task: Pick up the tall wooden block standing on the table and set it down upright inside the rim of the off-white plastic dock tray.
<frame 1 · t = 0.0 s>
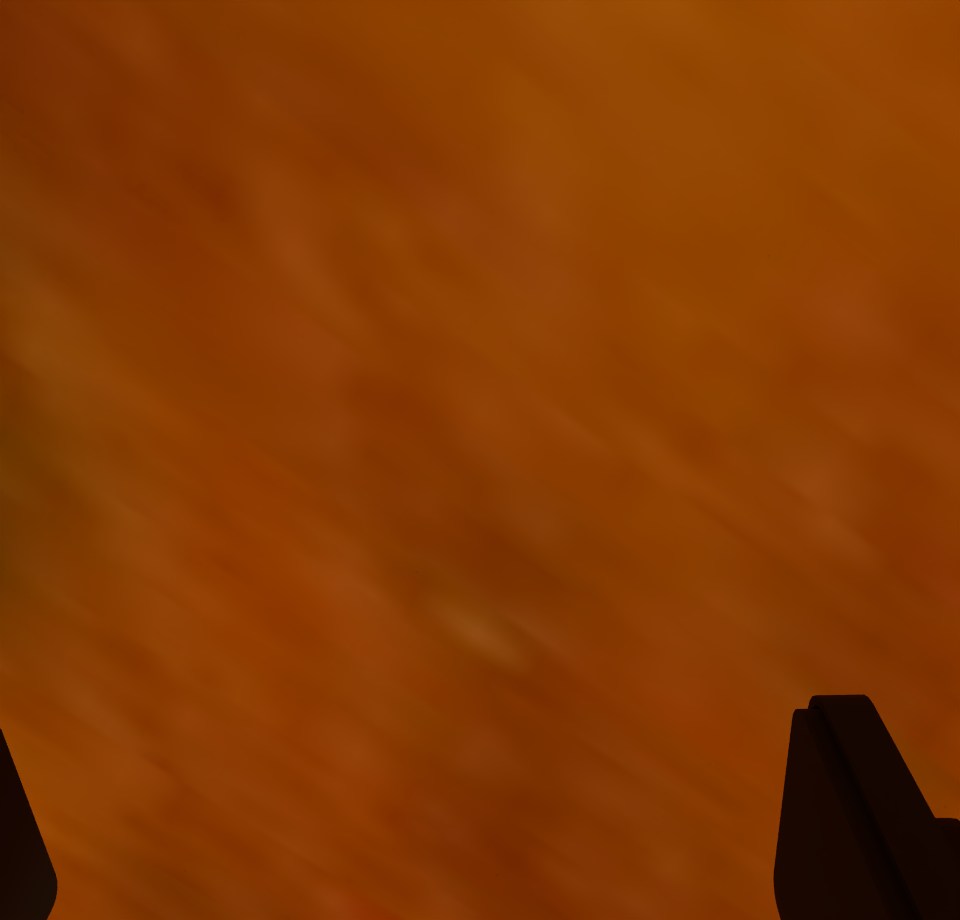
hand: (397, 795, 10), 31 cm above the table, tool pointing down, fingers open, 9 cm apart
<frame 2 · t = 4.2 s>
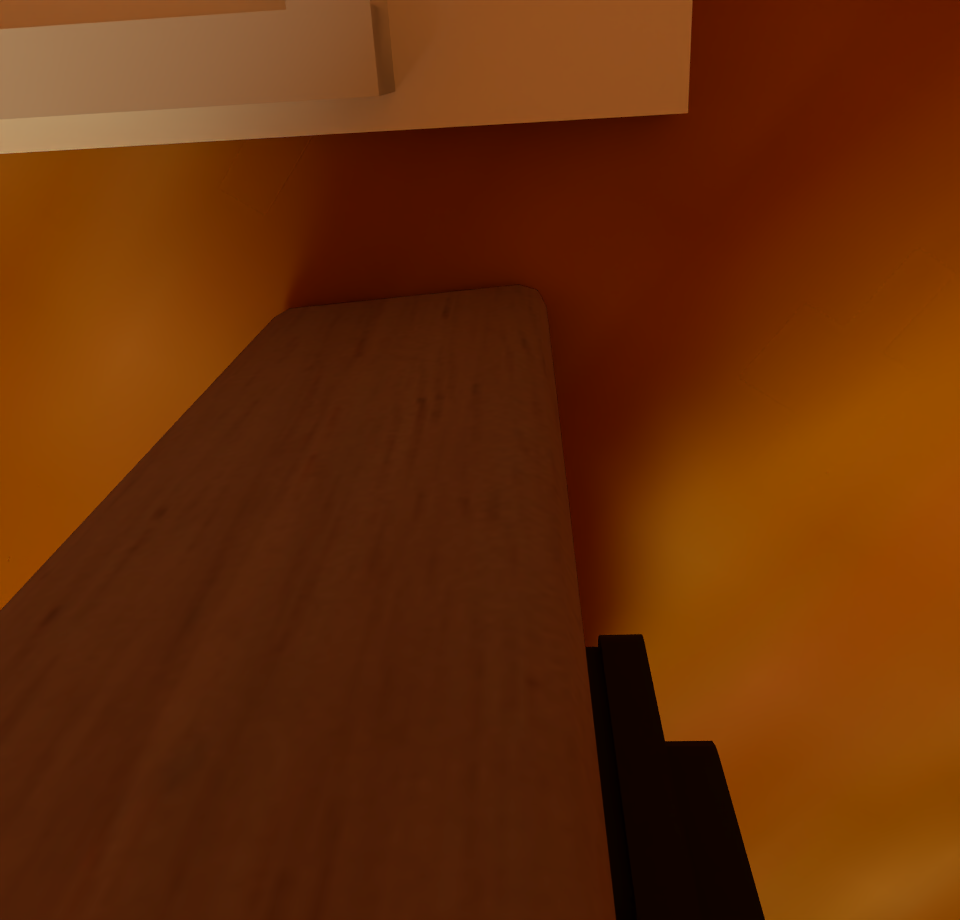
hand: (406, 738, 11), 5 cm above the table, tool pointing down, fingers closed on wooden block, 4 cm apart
wooden block: (443, 524, 16), on the table, touching gripper
when the fingers open (7 cm above the table, at t = 10.7 s): wooden block stays where it is, resting on dock tray.
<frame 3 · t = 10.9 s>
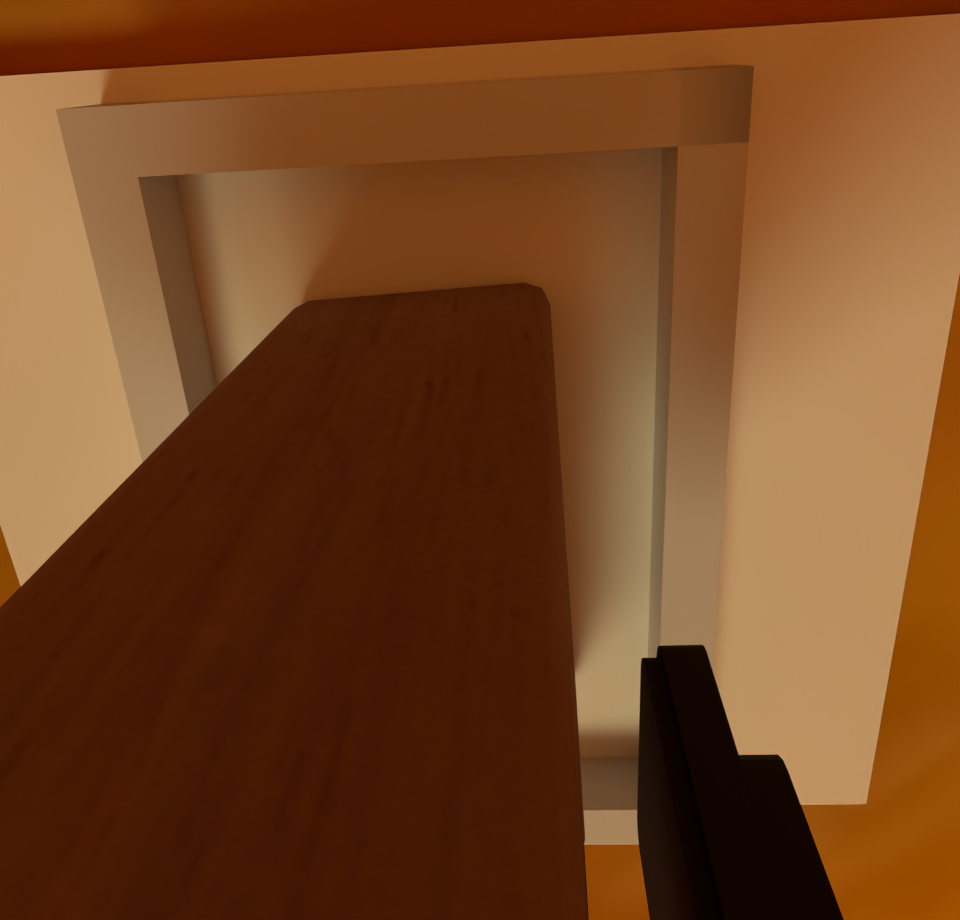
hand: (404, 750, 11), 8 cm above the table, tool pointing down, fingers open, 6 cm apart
wooden block: (448, 510, 17), point 1 cm above the table, touching dock tray
dock tray: (448, 481, 18), on the table
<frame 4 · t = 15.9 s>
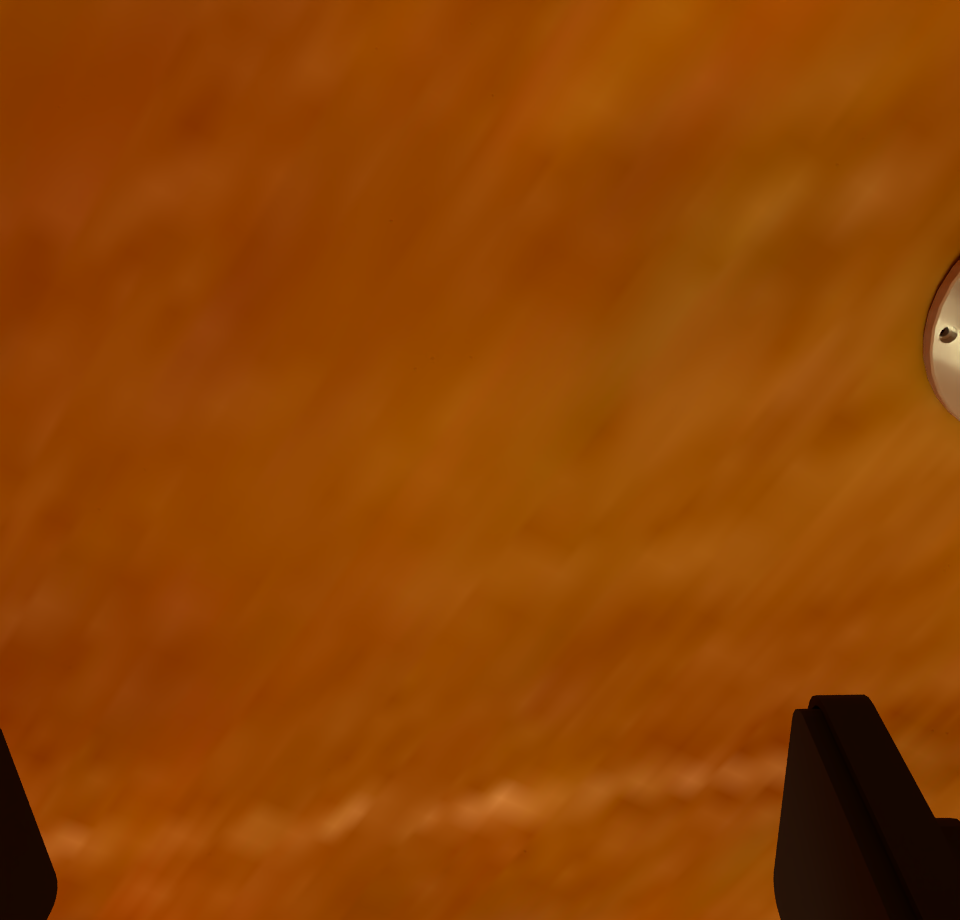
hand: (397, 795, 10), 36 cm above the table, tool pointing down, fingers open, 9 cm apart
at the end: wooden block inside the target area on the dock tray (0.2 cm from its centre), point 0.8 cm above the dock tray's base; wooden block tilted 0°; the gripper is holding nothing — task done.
